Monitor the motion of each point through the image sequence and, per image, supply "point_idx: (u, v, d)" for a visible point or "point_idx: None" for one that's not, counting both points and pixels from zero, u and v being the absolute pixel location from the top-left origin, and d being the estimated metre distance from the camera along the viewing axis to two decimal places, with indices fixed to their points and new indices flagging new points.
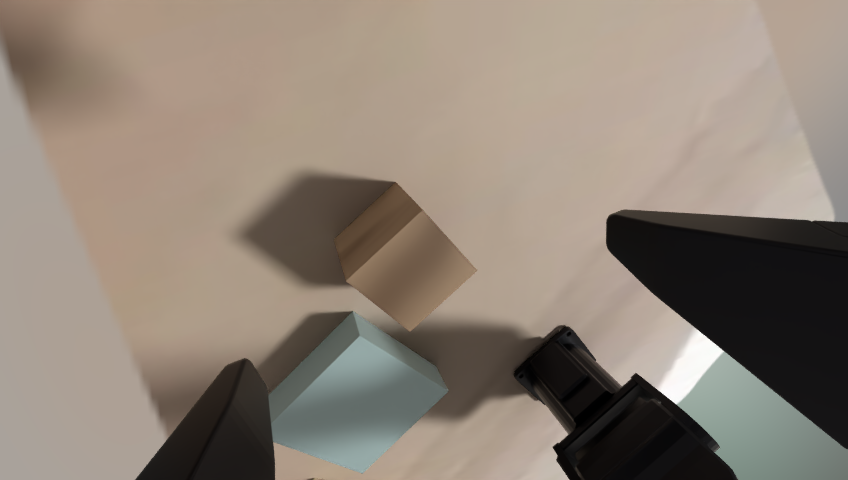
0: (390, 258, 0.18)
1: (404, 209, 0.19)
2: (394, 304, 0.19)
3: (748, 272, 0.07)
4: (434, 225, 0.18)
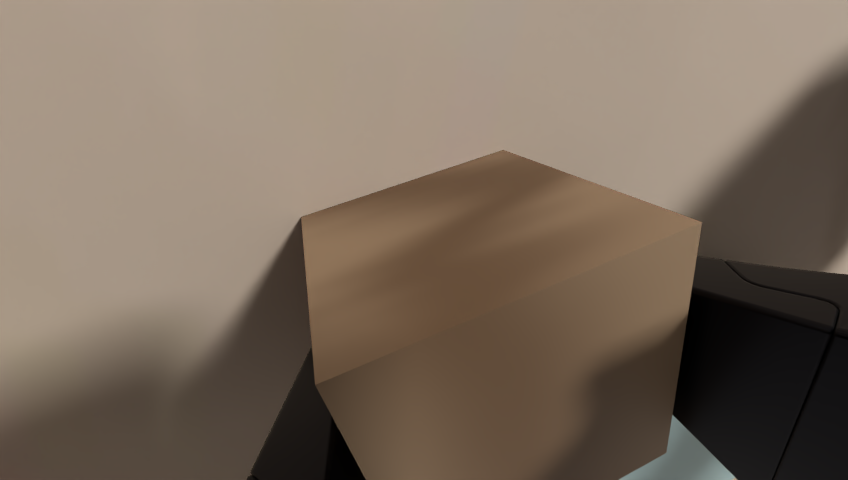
0: None
1: None
2: None
3: None
4: (415, 348, 0.04)
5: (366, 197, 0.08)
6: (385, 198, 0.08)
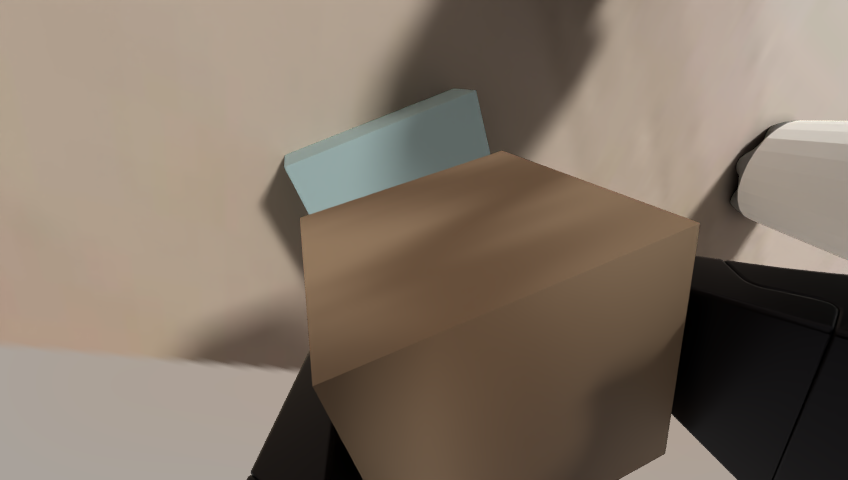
0: None
1: None
2: None
3: None
4: (412, 349, 0.04)
5: (365, 198, 0.08)
6: (384, 199, 0.08)
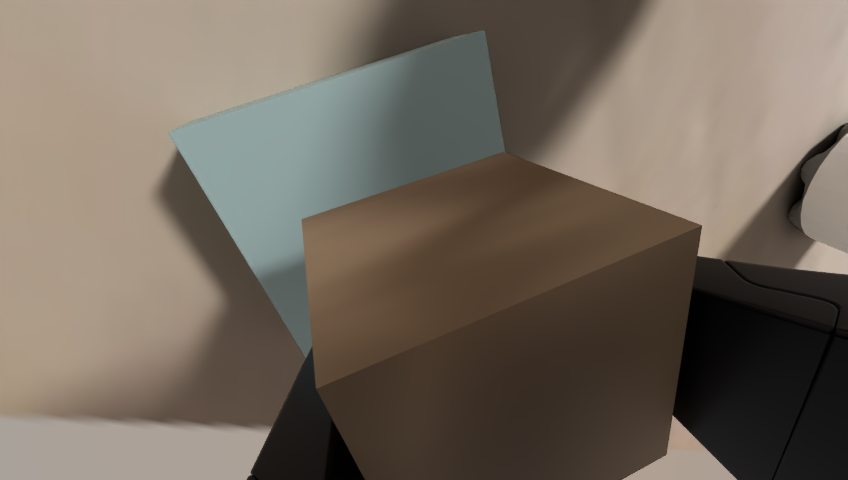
0: None
1: None
2: None
3: None
4: (415, 352, 0.04)
5: (366, 199, 0.08)
6: (385, 200, 0.08)
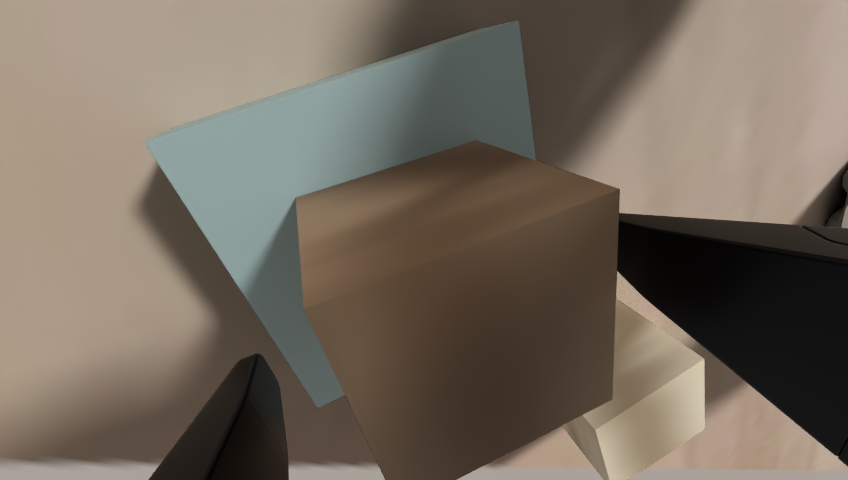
0: (408, 418, 0.06)
1: None
2: (530, 421, 0.07)
3: (737, 277, 0.06)
4: (383, 283, 0.05)
5: (353, 180, 0.09)
6: (370, 180, 0.09)
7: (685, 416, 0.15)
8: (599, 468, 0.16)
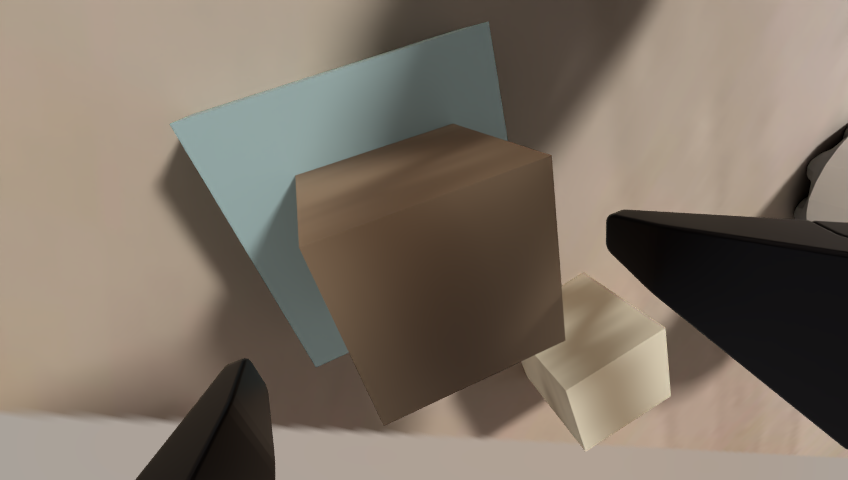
0: (387, 345, 0.08)
1: None
2: (492, 355, 0.09)
3: (748, 272, 0.07)
4: (360, 229, 0.06)
5: (344, 160, 0.11)
6: (358, 159, 0.10)
7: (651, 382, 0.17)
8: (573, 431, 0.17)
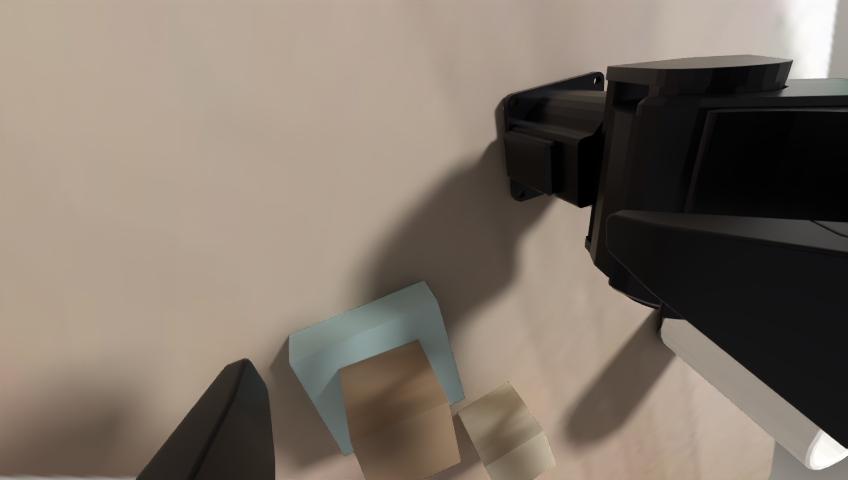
0: (379, 470, 0.19)
1: None
2: (425, 470, 0.20)
3: (748, 272, 0.07)
4: (372, 434, 0.18)
5: (363, 361, 0.22)
6: (370, 364, 0.21)
7: (540, 458, 0.28)
8: None
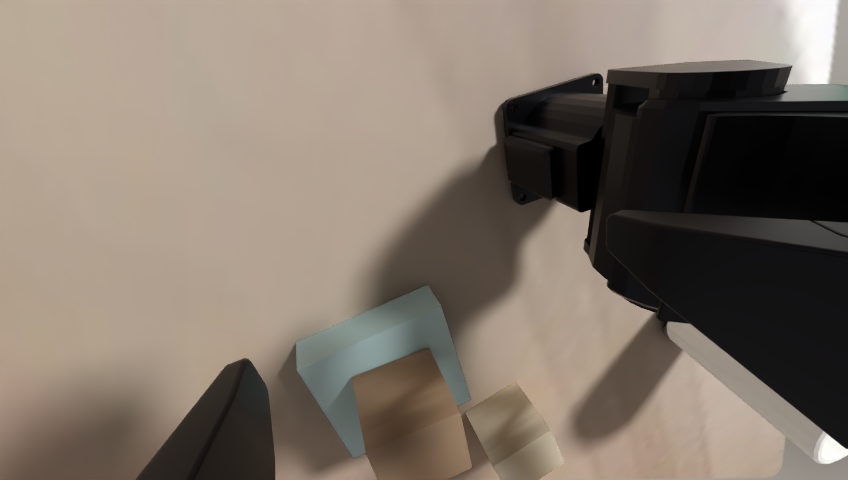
0: (393, 477, 0.19)
1: None
2: (437, 476, 0.20)
3: (748, 272, 0.07)
4: (387, 444, 0.18)
5: (375, 369, 0.22)
6: (382, 372, 0.22)
7: (548, 457, 0.28)
8: None
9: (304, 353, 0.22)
